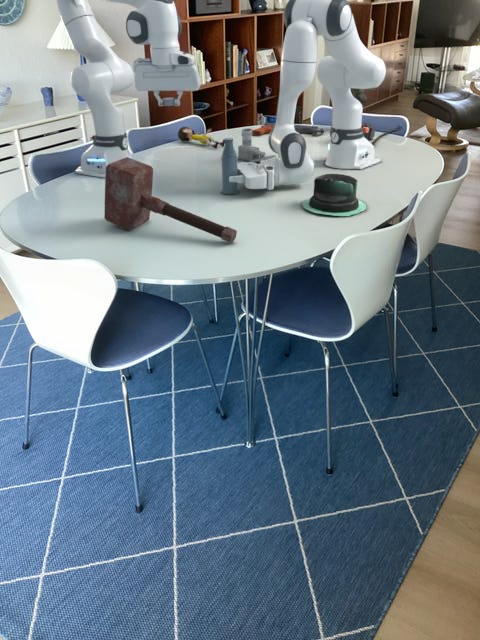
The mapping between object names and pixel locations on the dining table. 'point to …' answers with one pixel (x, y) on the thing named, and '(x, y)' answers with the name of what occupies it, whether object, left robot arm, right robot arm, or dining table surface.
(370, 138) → the toy
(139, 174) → the sledgehammer
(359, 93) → the statue
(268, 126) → the submachine gun
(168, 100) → the cap
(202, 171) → the dining table surface
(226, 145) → the bottle
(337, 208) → the round two-tone rimmed part
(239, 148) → the camera
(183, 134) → the figurine
